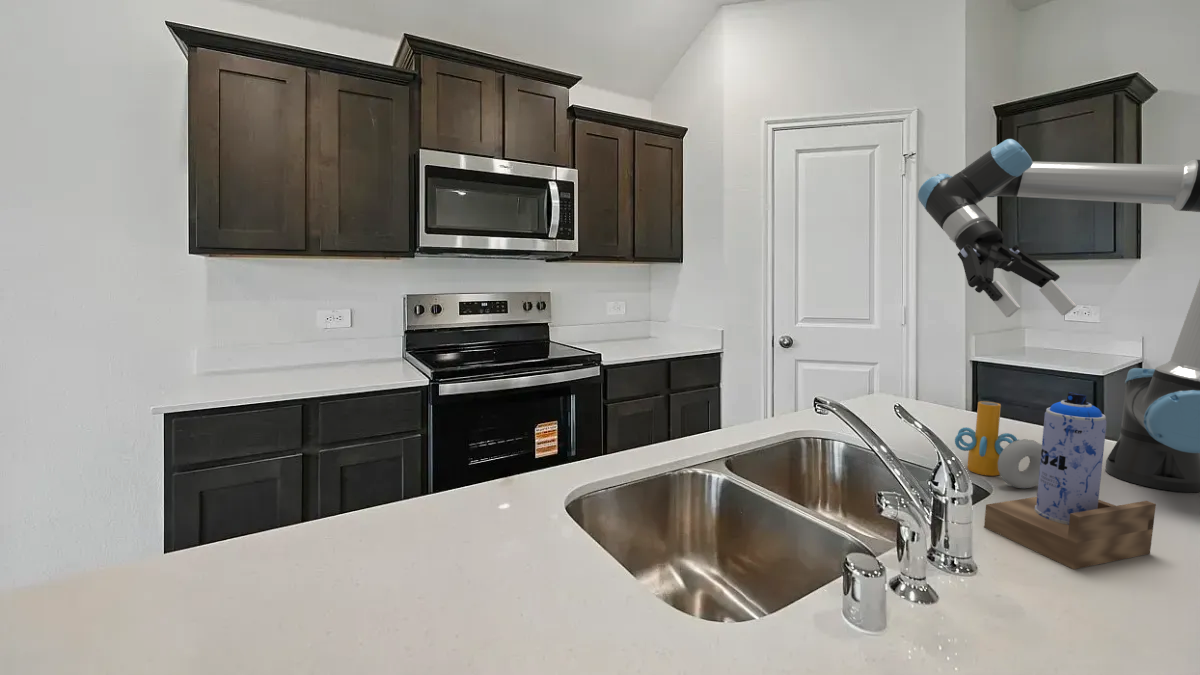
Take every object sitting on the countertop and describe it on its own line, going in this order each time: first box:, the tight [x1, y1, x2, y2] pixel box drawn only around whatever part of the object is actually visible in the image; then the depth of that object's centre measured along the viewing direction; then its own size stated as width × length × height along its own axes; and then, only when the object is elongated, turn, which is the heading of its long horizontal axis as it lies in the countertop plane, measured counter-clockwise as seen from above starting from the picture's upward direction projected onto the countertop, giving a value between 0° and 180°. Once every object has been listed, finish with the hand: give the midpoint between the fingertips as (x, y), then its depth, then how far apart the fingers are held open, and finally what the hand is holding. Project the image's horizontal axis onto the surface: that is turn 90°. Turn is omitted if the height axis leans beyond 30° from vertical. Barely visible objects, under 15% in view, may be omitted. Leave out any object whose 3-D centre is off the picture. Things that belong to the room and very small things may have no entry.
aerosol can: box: [1035, 391, 1107, 525], centre depth 88 cm, size 8×8×20 cm
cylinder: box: [954, 400, 1018, 477], centre depth 119 cm, size 12×10×15 cm
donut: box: [998, 438, 1042, 489], centre depth 111 cm, size 10×3×10 cm, turn 93°
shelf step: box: [983, 496, 1157, 570], centre depth 90 cm, size 16×14×8 cm
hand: (1042, 311), depth 102 cm, fingers open, 13 cm apart
